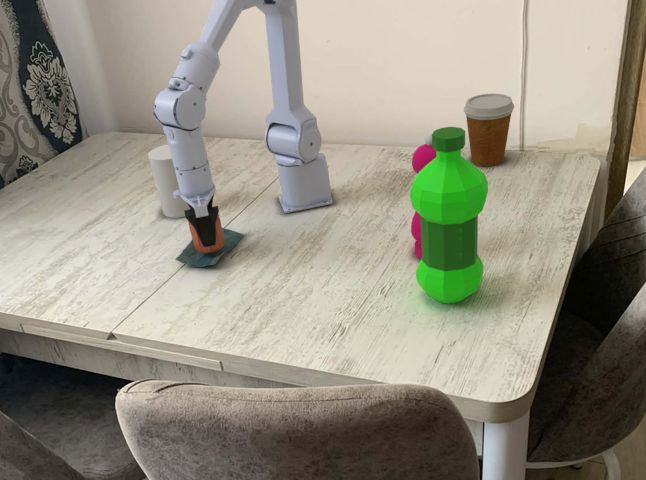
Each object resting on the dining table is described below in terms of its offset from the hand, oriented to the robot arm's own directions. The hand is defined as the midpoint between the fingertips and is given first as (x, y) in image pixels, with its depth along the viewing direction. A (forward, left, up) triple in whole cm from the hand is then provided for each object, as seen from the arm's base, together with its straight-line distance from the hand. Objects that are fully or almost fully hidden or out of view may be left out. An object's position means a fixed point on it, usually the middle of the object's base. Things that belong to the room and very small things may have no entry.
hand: (208, 237), depth 128 cm
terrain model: (0, -1, -4) cm, 4 cm away
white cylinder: (+4, -22, -4) cm, 23 cm away
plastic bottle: (-34, +28, -4) cm, 44 cm away
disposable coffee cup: (-58, -16, -4) cm, 60 cm away
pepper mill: (-36, +15, -4) cm, 39 cm away
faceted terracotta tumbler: (0, 0, -2) cm, 2 cm away
